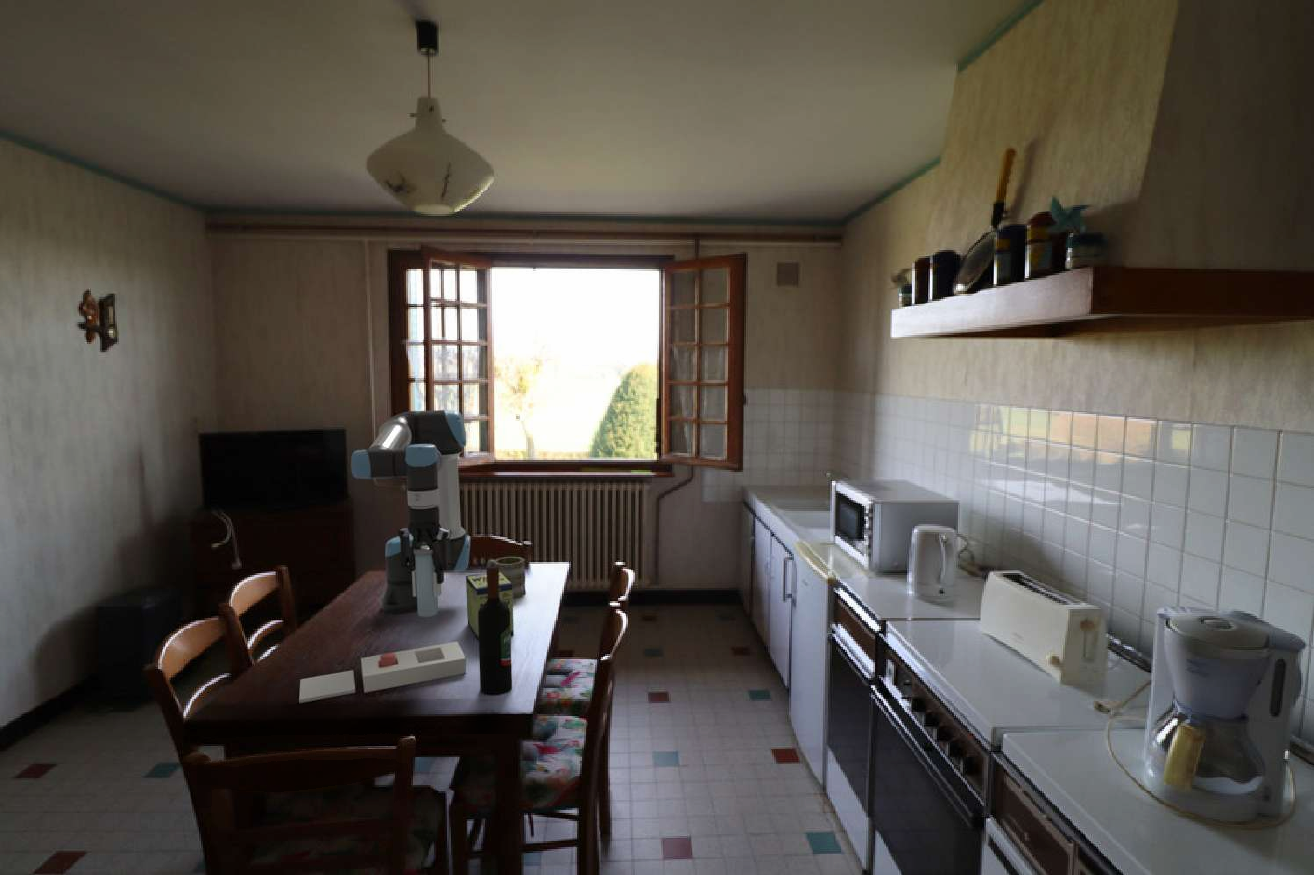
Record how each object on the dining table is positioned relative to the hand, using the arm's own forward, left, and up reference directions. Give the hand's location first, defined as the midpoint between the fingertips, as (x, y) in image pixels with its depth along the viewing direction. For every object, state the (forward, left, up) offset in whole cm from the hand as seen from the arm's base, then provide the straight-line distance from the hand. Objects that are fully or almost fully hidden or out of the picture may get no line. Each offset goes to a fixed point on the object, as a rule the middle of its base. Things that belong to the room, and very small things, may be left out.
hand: (427, 595), depth 177 cm
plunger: (0, -10, -19) cm, 21 cm away
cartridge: (0, 0, -5) cm, 5 cm away
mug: (-53, +32, -20) cm, 65 cm away
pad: (-1, -24, -20) cm, 31 cm away
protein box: (-21, +20, -20) cm, 35 cm away
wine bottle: (+18, +13, -20) cm, 30 cm away
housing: (0, -4, -20) cm, 20 cm away
